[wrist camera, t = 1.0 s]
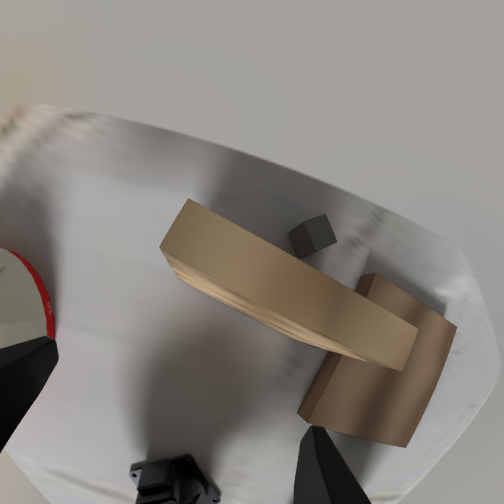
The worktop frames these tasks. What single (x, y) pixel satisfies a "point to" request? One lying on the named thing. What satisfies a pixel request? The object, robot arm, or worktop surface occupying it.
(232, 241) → the light wooden board
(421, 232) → the worktop surface
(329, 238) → the stop block
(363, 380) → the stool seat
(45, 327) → the kitchen timer
